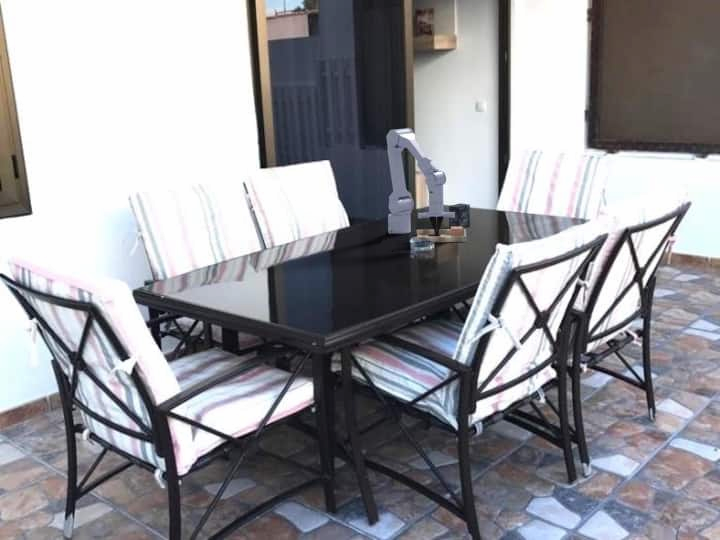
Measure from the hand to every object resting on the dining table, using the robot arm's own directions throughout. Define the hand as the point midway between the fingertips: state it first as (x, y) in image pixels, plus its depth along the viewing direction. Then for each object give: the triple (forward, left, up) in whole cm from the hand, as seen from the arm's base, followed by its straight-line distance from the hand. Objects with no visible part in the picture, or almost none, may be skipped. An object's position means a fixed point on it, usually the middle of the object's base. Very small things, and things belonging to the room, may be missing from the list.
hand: (436, 235), depth 295 cm
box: (+9, +22, -2) cm, 24 cm away
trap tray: (+1, 0, -2) cm, 3 cm away
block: (+8, 0, -1) cm, 8 cm away
